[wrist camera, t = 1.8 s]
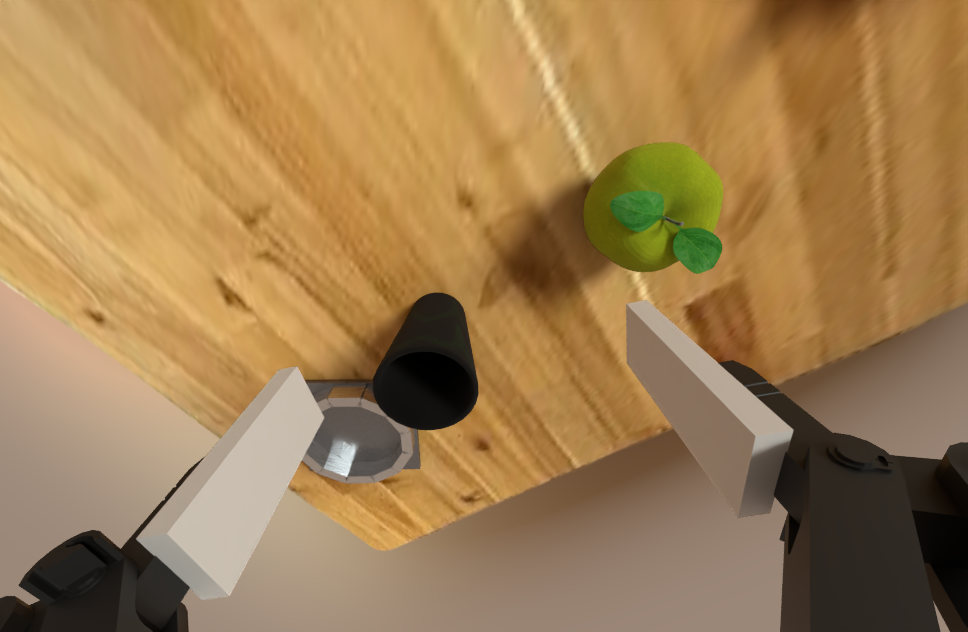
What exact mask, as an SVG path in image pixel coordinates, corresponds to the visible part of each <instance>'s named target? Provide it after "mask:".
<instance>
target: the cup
mask: <svg viewBox="0 0 968 632" xmlns="http://www.w3.org/2000/svg"><path fill="white" fill-rule="evenodd" d="M372 389H373V394H374V398H375V400H376V402H377V404H378V406H379V408H380V409H381V410H382V411H383V412H384V413H385V414H386V415H387V416H388V417H389V418H391V419H392V420H394V421H395V422H397V423H399V424H401V425H404V426H406V427H409V428H413V429H418V430H436V429H443V428H446V427H449V426H452V425H454V424H456V423H457V422H459V421H461V420H463V419H464V418H465V417H466V416H467V415H468V414H469V413H470V412H471V411H472V409H473V407H474V406H475V404H476V401H477V397H478V381H477V376H476V370H475V365H474V360H473V354H472V349H471V344H470V338H469V333H468V328H467V322H466V317H465V312H464V309H463V307H462V306H461V304H460V302H458V301H457V300H456V299H455V298H454V297H452V296H450V295H448V294H444V293H430V294H427V295H425V296H423V297H421V298H420V299H419V300H418V301H417V302H416V303H415V304H414V306H413V308H412V310H411V311H410V313H409V315H408V317H407V318H406V320H405V322H404V324H403V325H402V327H401V329H400V330H399V332H398V334H397V336H396V337H395V339H394V341H393V343H392V344H391V346H390V348H389V350H388V351H387V353H386V355H385V357H384V358H383V360H382V362H381V364H380V365H379V367H378V369H377V371H376V373H375V376H374V378H373V388H372Z"/></svg>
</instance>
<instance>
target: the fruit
mask: <svg viewBox="0 0 968 632" xmlns="http://www.w3.org/2000/svg"><path fill="white" fill-rule="evenodd" d="M722 199H723V185H722V182H721V179H720V178H719V176H718V174H717V173H716V172H715V171H714V169H713V168H712V167H711V166H709V165H708V164H707V163H706V162H705V161H704V160H703V159H702V158H701V157H700V156H699V155H698V154H697V153H696V152H695V151H694V150H692V149H691V148H690V147H688V146H686V145H683V144H679V143H653V144H647V145H643V146H639V147H636V148H633V149H630V150H628V151H626V152H624V153H623V154H621V155H619V156H618V157H617V158H615V159H614V160H613V161H612V162H610V163H609V164H608V165H607V166H606V167H605V169H604V170H603V171H602V172H601V173H600V174H599V176H598V177H597V178H596V180H595V181H594V183H593V184H592V186H591V188H590V189H589V191H588V194H587V196H586V199H585V203H584V209H583V221H584V228H585V231H586V234H587V236H588V239H589V240H590V242H591V243H592V245H593V246H594V247H595V248H596V249H597V250H599V251H600V252H601V253H602V254H603V255H605V256H606V257H607V258H609V259H610V260H611V261H613V262H614V263H616V264H618V265H619V266H621V267H623V268H626V269H628V270H632V271H636V272H653V271H658V270H661V269H664V268H666V267H668V266H670V265H672V264H674V263H676V262H677V261H680V262H681V263H682V264H683V265H684V266H685V267H687V268H688V269H689V270H690V271H692V272H693V273H696V274H699V273H702V272H705V271H707V270H709V269H712V268H713V267H714V266H715V264H716V262H717V261H718V259H719V257H720V255H721V252H722V243H721V241H720V239H719V238H718V237H717V236H716V235H714V234H713V231H714V229H715V227H716V224H717V221H718V218H719V214H720V210H721V205H722Z"/></svg>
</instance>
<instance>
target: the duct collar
mask: <svg viewBox="0 0 968 632" xmlns="http://www.w3.org/2000/svg"><path fill="white" fill-rule="evenodd" d="M305 382H306V384H307V386H308V388H309V390H310V391H311V393H312V395H313V397H314V399H315V401H316V403H317V405H318V406H319V408H320V410H321V412H322V414H323V416H324V419H323V421H322V423H321V425H320V427H319V429H318V431H317V433H316V434H315V436H314V438H313V440H312V442H311V444H310V446H309V448H308V449H307V451H306V453H305V455H304V457H303V459H302V461H303V462H304V463H306V464H307V465H308V466H309V467H310V471H315V472H316V473H318V474H319V475H322V476H325V477H328V478H331V479H334V480H337V481H340V482H343V483H375V482H379V481H381V480H383V479H386V478H388V477H390V476H393V475H395V474H397V473H399V472H400V471H401V470H402V469H420V466H421V465H420V452H419V439H418V429H413V428H409V427H406V426H404V425H401V424H399V423H397V422H395V421H394V420H392V419H391V418H389V417H388V416H387V415H386V414H385V413H384V412H383V411H382V410H381V409H380V408H379V406H378V404H377V402H376V400H375V398H374V394H373V389H372V388H373V380H305Z"/></svg>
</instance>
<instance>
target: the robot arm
mask: <svg viewBox="0 0 968 632" xmlns="http://www.w3.org/2000/svg"><path fill="white" fill-rule="evenodd" d="M626 326H627V364H628V365H629V367H630V368H631V369H632V371H633V372H634V374H635V375H636V376H637V378H638V379H639V381H640V382H641V383H642V385H643V386H644V388H645V389H646V390H647V392H648V393H649V395H650V396H651V397H652V399H653V400H654V402H655V403H656V404H657V406H658V407H659V409H660V410H661V411H662V413H663V414H664V416H665V417H666V418H667V420H668V421H669V423H670V424H671V425H672V427H673V428H674V430H675V431H676V432H677V433H678V435H679V436H680V438H681V439H682V441H683V442H684V444H685V445H686V446H687V448H688V449H689V451H690V452H691V453H692V455H693V456H694V457H695V459H696V460H697V462H698V463H699V464H700V466H701V467H702V469H703V470H704V471H705V473H706V474H707V476H708V477H709V478H710V480H711V481H712V483H713V484H714V485H715V487H716V488H717V490H718V491H719V492H720V494H721V495H722V497H723V498H724V499H725V501H726V502H727V503H728V505H729V506H730V508H731V509H732V510H733V512H734V513H735V515H736V516H737V518H741V517H748V516H753V515H761V514H767V513H770V511H771V508H772V505H773V501H774V497H775V498H776V499H777V500H778V501H779V502H780V503H781V504H782V506H783V507H784V508H785V509H786V510H787V511H788V515H787V517H786V521H785V524H784V527H783V530H782V533H781V536H780V540H782V541H784V542H785V543H784V564H783V584H782V605H781V606H782V607H781V627H780V632H940V628H939V624H938V620H937V616H936V611H935V607H934V603H935V604H936V606H937V608H938V610H939V612H940V614H941V616H942V618H943V619H944V621H945V623H946V625H947V627H948V629H949V631H950V632H968V443H962V442H961V443H958V444H954V445H951V446H949V448H948V450H947V452H946V453H945V455H944V457H943V459H942V460H938V459H927V458H916V457H905V456H894V455H889V454H888V453H887V452H886V451H885V450H883V449H881V448H879V447H878V446H876V445H874V444H872V443H870V442H868V441H866V440H863V439H860V438H857V437H854V436H851V435H845V434H839V433H832V432H831V431H829V430H828V429H827V428H826V427H824V426H823V425H822V424H820V423H819V422H818V421H817V420H816V419H814V418H813V417H812V416H811V415H809V414H808V413H807V412H806V411H804V410H803V409H802V408H801V407H799V406H798V405H797V404H796V403H794V402H793V401H792V400H791V399H789V398H788V397H787V396H785V395H784V394H781V393H780V391H779V390H778V389H777V388H775V387H774V386H773V385H772V384H770V383H769V384H768V382H767V380H765V379H764V378H763V377H762V376H760V375H759V374H758V373H757V372H755V371H754V370H753V369H751V368H749V367H747V366H744V365H742V364H740V363H738V362H735V361H733V360H731V361H726V362H720V363H717V362H716V361H715V360H714V359H713V358H712V357H710V356H709V355H708V354H707V353H706V352H705V351H704V350H703V349H701V348H700V347H699V346H698V345H697V344H696V343H695V342H694V341H692V340H691V339H690V338H689V337H688V336H687V335H686V334H684V333H683V332H682V331H681V330H680V329H679V328H678V327H677V326H675V325H674V324H673V323H672V322H671V321H670V320H669V319H667V318H666V317H665V316H664V315H663V314H662V313H661V312H660V311H658V310H657V309H656V308H655V307H654V306H653V305H652V304H651V303H649V302H648V301H647V300H644V301H639V302H633V303H628V304H626ZM323 419H324V416H323V414H322V412H321V410H320V408H319V406H318V405H317V403H316V401H315V399H314V397H313V395H312V393H311V391H310V390H309V388H308V386H307V384H306V382H305V380H304V378H303V376H302V375H301V373H300V371H299V369H298V367H297V366H296V367H290V368H285V369H280V370H278V371H277V372H276V374H275V375H274V376H273V377H272V378H271V380H270V381H269V382H268V383H267V384H266V385H265V387H264V388H263V389H262V390H261V391H260V393H259V394H258V395H257V396H256V397H255V398H254V400H253V401H252V402H251V403H250V404H249V406H248V407H247V408H246V409H245V410H244V411H243V413H242V414H241V415H240V416H239V417H238V419H237V420H236V421H235V422H234V423H233V424H232V426H231V427H230V428H229V429H228V430H227V432H226V433H225V434H224V435H223V436H222V437H221V439H220V440H219V441H218V442H217V443H216V445H215V446H214V447H213V448H212V449H211V450H210V452H209V453H208V454H207V455H206V456H205V457H204V458H202V459H201V460H200V461H199V462H198V463H196V464H195V465H194V466H193V467H191V468H190V469H189V470H188V472H187V473H186V474H185V475H184V476H183V477H182V478H181V480H180V481H179V482H178V483H177V484H176V487H175V488H173V489H172V490H171V491H170V493H168V495H167V496H166V497H165V500H164V501H162V502H161V503H160V504H159V505H158V506H157V507H156V509H155V510H154V511H153V512H152V513H151V514H150V515H149V517H148V518H147V519H146V520H145V521H144V523H143V524H142V525H141V526H140V527H139V528H138V530H137V531H136V532H135V533H134V534H133V535H132V537H131V538H130V539H129V540H128V541H127V542H126V543H125V545H124V546H123V547H122V548H121V549H120V548H119V547H117V546H116V545H115V544H114V543H113V542H112V541H111V540H109V539H108V538H107V537H106V536H105V535H103V534H102V533H101V532H100V531H96V530H91V531H87V532H83V533H81V534H79V535H76V536H74V537H72V538H70V539H69V540H67V541H65V542H63V543H62V544H61V545H59V546H57V547H56V548H54V549H53V550H52V551H50V552H49V553H48V554H46V555H45V556H44V557H43V558H42V559H40V560H39V561H38V562H37V563H36V564H35V565H34V566H33V567H32V568H31V569H30V570H29V571H28V572H27V573H26V574H25V576H24V578H23V579H22V581H21V582H20V584H19V586H20V587H21V588H23V589H24V590H26V591H27V592H29V593H30V594H32V595H33V596H35V597H36V598H38V599H39V600H40V601H38V602H36V603H33V604H31V605H28V604H26V603H25V602H23V601H21V600H20V599H18V598H17V597H15V596H6V597H3V598H0V632H189V631H188V612H187V609H186V607H185V605H184V604H183V603H181V601H182V599H183V598H184V596H185V594H186V593H187V591H188V590H189V588H190V589H191V590H192V591H193V592H194V593H195V594H196V595H197V596H198V597H199V598H200V599H201V600H207V599H214V598H220V597H227V596H230V594H231V592H232V591H233V589H234V587H235V585H236V583H237V581H238V579H239V577H240V575H241V574H242V572H243V570H244V568H245V566H246V564H247V562H248V560H249V559H250V557H251V555H252V553H253V551H254V549H255V547H256V545H257V544H258V541H259V540H260V538H261V536H262V534H263V532H264V530H265V528H266V527H267V525H268V523H269V521H270V519H271V517H272V515H273V513H274V511H275V510H276V508H277V506H278V504H279V502H280V500H281V498H282V496H283V495H284V493H285V491H286V489H287V487H288V485H289V483H290V481H291V480H292V478H293V476H294V474H295V472H296V470H297V468H298V466H299V464H300V463H301V461H302V459H303V457H304V455H305V453H306V451H307V449H308V448H309V446H310V444H311V442H312V440H313V438H314V436H315V434H316V433H317V431H318V429H319V427H320V425H321V423H322V421H323ZM933 601H934V603H933Z"/></svg>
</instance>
